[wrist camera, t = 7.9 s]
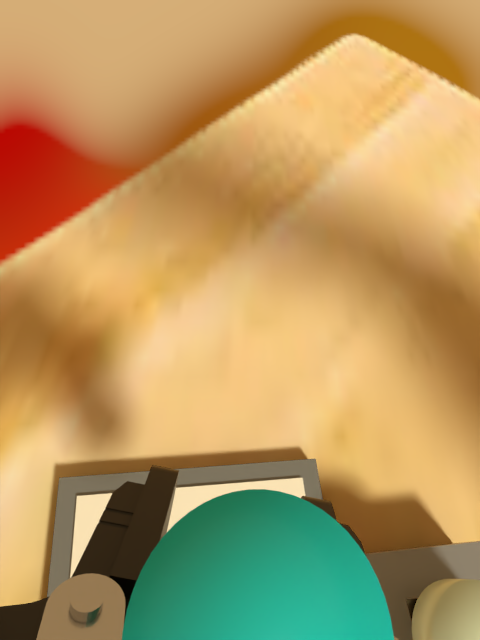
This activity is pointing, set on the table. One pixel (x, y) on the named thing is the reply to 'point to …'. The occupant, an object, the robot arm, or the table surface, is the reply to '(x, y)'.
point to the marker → (257, 576)
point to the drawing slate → (191, 491)
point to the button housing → (420, 575)
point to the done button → (448, 611)
